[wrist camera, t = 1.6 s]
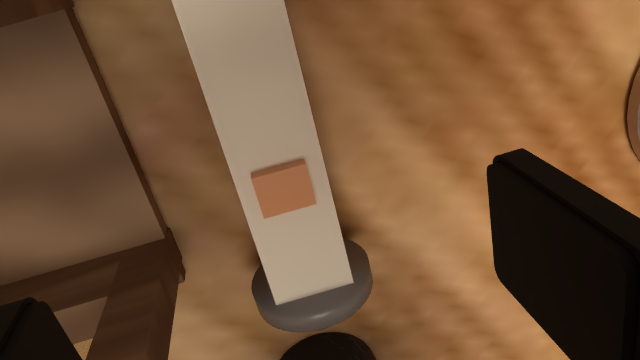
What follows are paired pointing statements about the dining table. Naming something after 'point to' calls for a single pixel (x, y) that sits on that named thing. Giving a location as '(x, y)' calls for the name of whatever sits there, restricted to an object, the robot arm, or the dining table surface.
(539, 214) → the robot arm
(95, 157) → the walnut rack
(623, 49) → the dining table surface
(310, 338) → the travel mug
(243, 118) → the white bar grey caps
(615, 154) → the dining table surface
